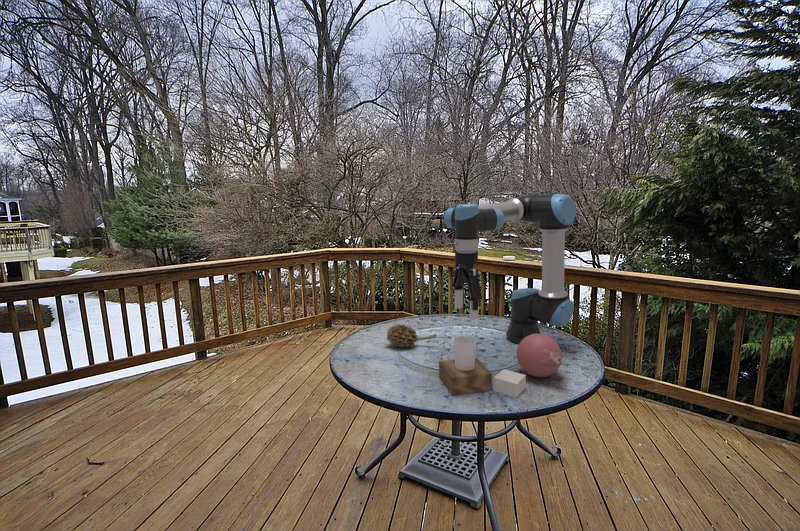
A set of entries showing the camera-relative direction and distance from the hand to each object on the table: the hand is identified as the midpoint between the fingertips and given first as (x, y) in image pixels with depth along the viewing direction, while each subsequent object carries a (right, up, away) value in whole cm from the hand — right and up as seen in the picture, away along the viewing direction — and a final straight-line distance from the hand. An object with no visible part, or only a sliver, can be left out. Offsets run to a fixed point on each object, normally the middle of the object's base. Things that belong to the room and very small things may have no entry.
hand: (465, 313), depth 138 cm
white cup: (0, -19, +3) cm, 20 cm away
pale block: (+15, -26, -1) cm, 30 cm away
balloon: (+28, -24, +7) cm, 38 cm away
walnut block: (0, -25, +4) cm, 25 cm away
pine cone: (-17, -19, +39) cm, 47 cm away
